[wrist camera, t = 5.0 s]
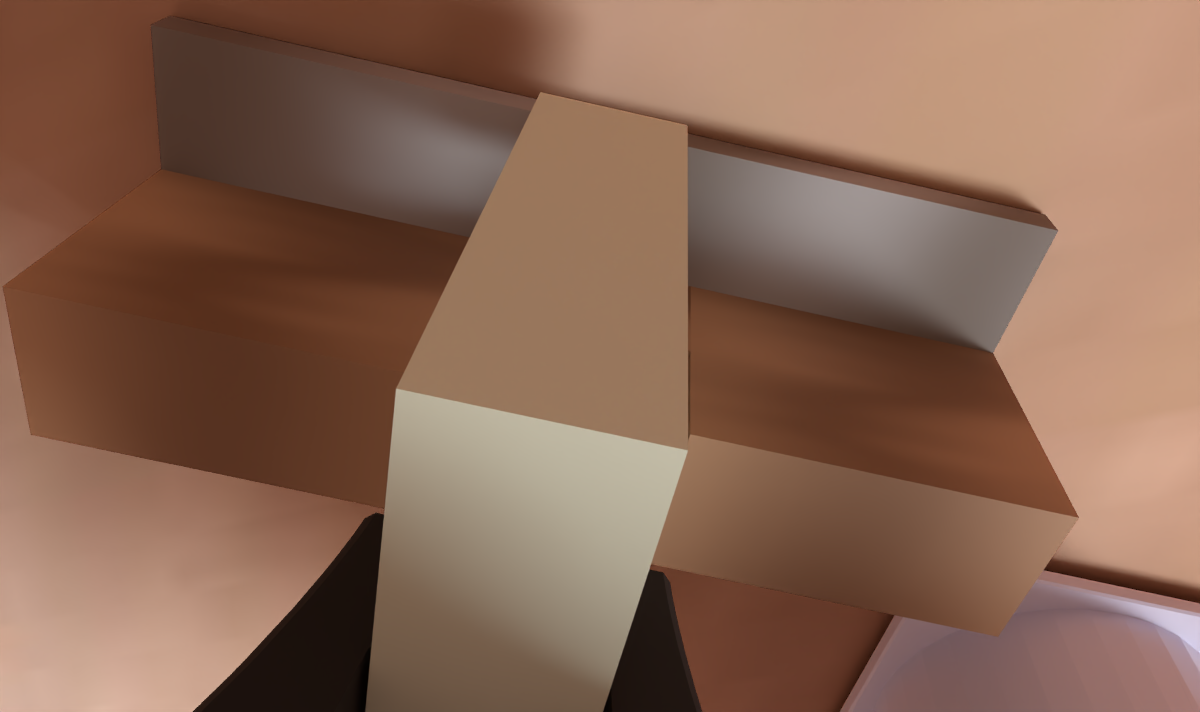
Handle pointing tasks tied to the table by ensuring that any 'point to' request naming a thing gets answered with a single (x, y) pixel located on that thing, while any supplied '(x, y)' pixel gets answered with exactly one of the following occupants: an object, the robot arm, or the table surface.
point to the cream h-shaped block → (540, 427)
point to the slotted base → (425, 264)
